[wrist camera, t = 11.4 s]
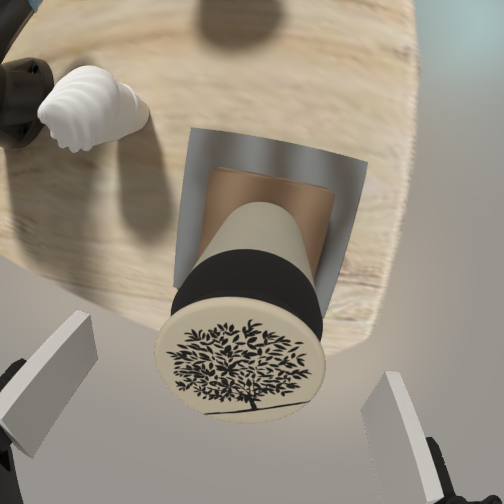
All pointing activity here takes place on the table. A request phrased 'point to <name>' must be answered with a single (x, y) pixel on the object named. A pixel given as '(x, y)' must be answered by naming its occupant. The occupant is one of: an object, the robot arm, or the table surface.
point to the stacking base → (276, 165)
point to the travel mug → (246, 323)
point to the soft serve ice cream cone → (91, 109)
